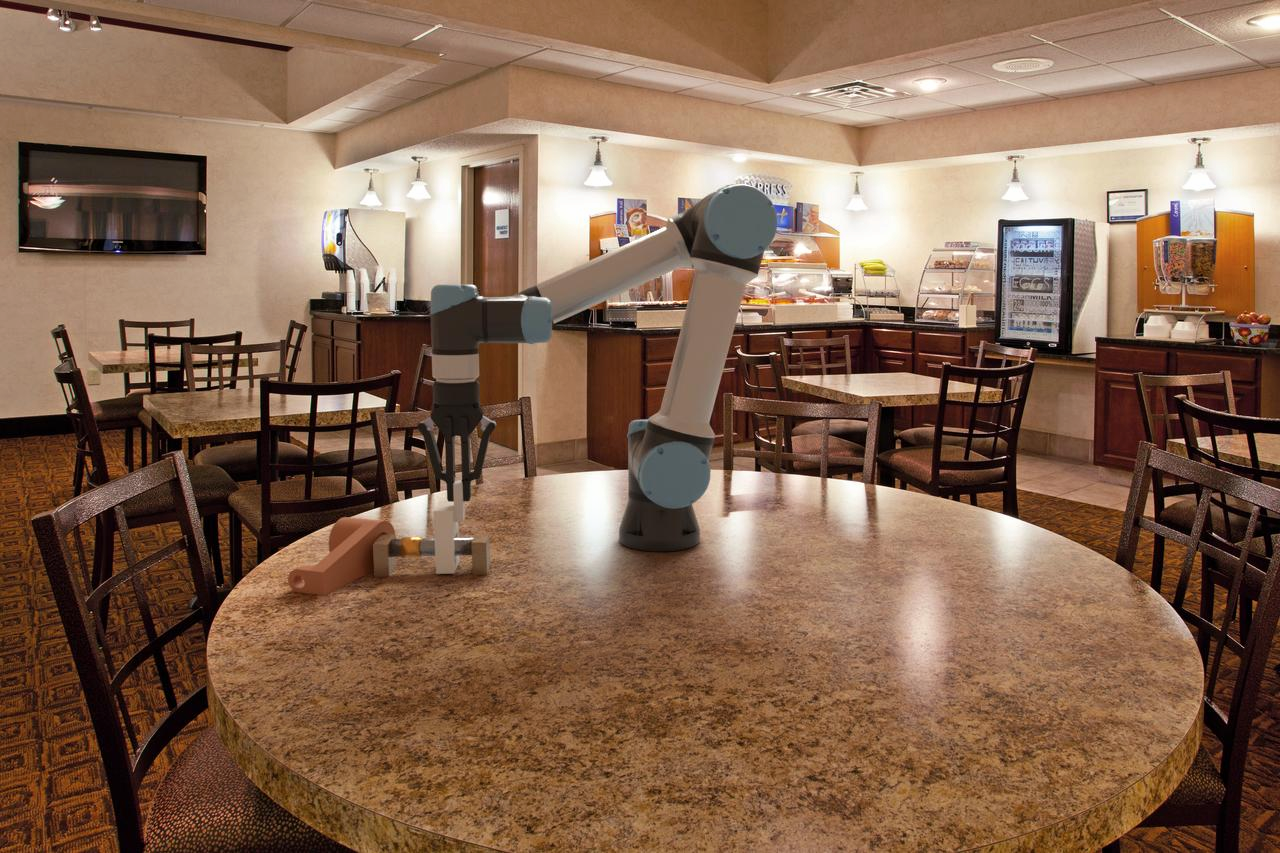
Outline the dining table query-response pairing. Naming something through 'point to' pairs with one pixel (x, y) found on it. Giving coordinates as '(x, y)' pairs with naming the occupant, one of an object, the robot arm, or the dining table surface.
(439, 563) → the sleeve
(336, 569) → the crank
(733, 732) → the dining table surface
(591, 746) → the dining table surface
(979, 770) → the dining table surface
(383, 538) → the pipe rig
